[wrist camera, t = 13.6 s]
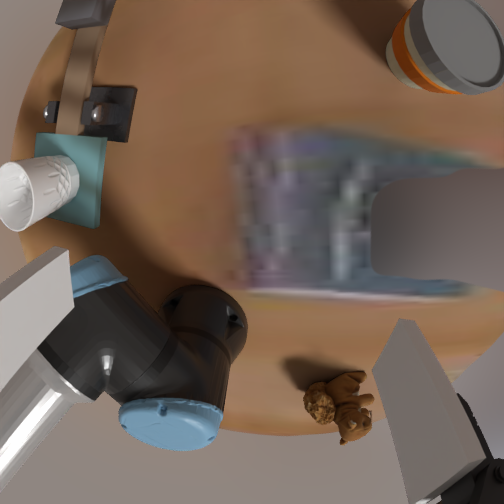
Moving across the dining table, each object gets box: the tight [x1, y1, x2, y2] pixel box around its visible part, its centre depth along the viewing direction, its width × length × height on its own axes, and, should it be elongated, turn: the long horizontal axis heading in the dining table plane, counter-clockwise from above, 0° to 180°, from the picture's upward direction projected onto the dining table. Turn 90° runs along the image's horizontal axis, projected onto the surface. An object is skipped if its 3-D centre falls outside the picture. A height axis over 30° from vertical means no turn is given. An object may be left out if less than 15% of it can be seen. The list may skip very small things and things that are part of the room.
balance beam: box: [34, 0, 116, 229], centre depth 28 cm, size 33×12×6 cm, turn 167°
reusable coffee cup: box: [386, 0, 504, 95], centre depth 24 cm, size 12×12×15 cm
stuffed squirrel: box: [303, 372, 374, 445], centre depth 48 cm, size 10×14×13 cm
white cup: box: [0, 155, 80, 231], centre depth 29 cm, size 8×8×10 cm
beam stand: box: [43, 87, 138, 143], centre depth 33 cm, size 8×12×8 cm, turn 77°
